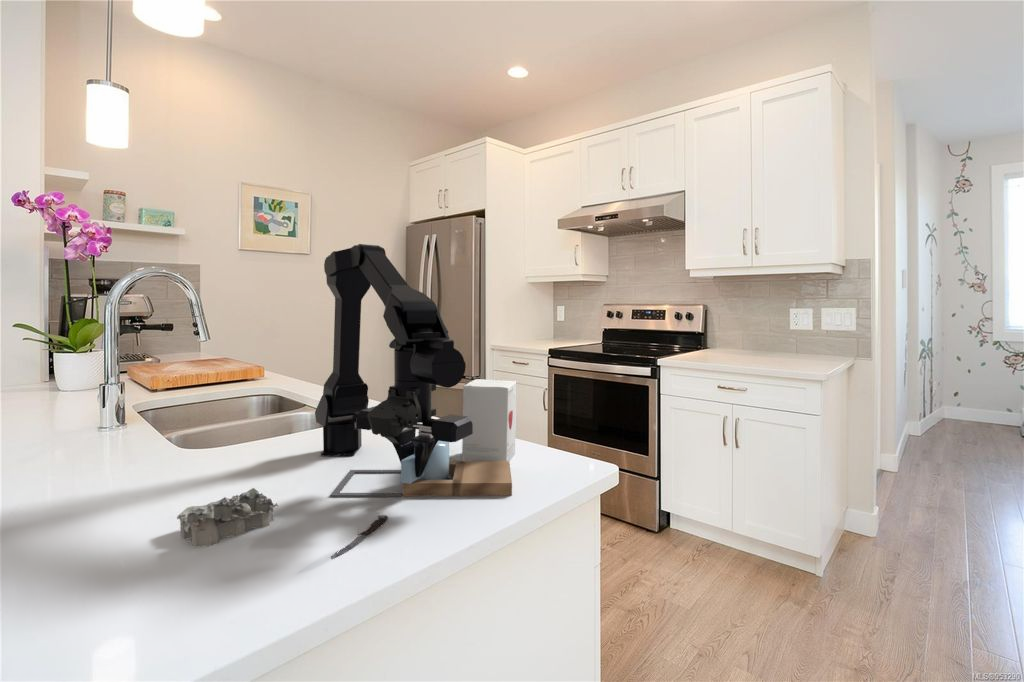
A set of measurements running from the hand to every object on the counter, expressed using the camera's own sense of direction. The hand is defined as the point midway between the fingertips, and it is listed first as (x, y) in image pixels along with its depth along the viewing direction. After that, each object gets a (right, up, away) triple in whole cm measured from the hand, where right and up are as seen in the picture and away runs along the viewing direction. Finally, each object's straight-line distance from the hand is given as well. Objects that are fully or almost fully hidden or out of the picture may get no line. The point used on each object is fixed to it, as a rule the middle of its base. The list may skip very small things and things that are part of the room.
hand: (413, 475), depth 82 cm
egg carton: (-22, -4, -13) cm, 26 cm away
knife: (-5, -5, -17) cm, 18 cm away
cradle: (+7, -3, +5) cm, 9 cm away
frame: (-7, -3, +5) cm, 9 cm away
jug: (+1, -3, +3) cm, 4 cm away
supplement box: (+11, -2, +19) cm, 22 cm away
